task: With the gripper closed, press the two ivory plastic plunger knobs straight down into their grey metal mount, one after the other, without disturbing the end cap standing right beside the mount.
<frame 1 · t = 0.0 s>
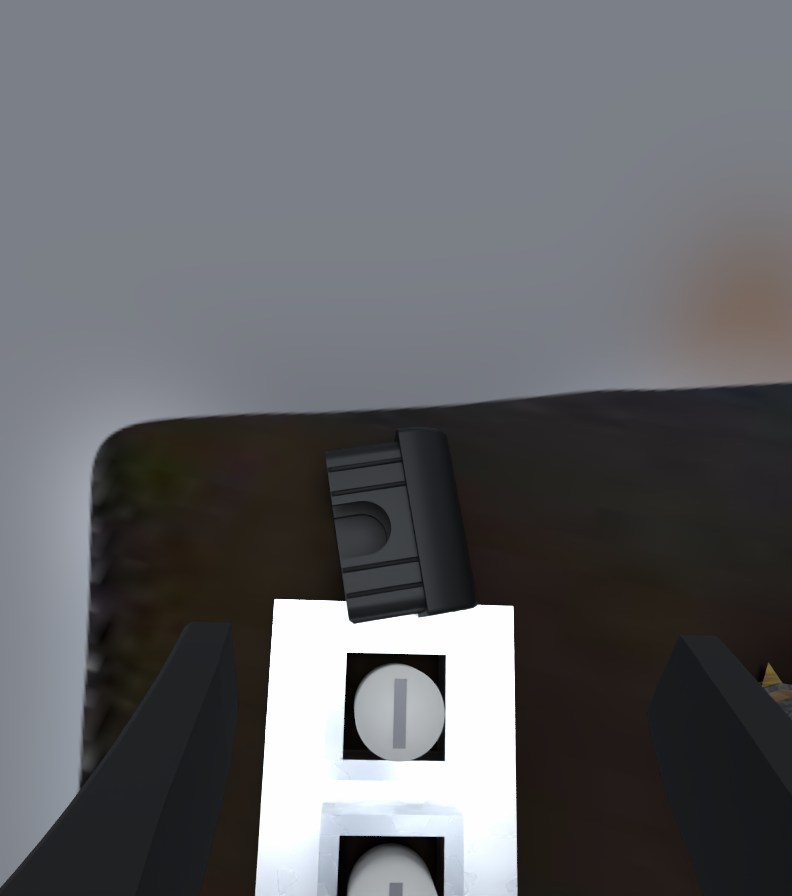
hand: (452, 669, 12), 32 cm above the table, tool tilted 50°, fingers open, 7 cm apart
knob 1: (397, 708, 38), point 5 cm above the table, slide at 0.0 cm
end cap: (395, 537, 45), on the table, touching mount
mount: (389, 784, 41), on the table
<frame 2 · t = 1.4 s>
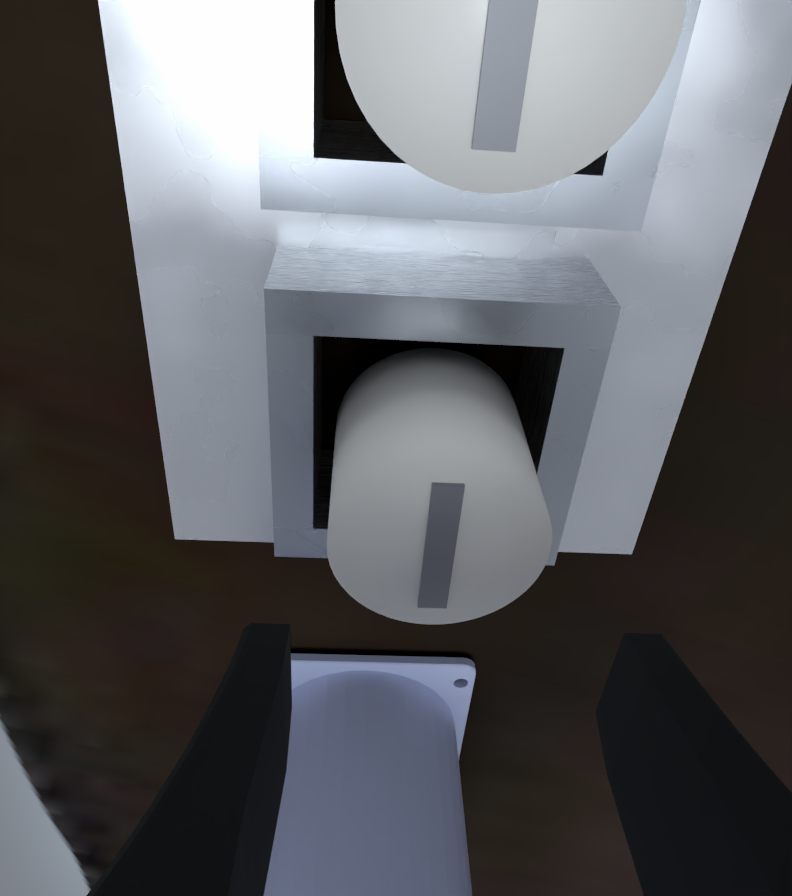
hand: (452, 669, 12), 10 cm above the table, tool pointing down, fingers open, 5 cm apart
knob 1: (489, 2, 11), point 5 cm above the table, slide at 0.0 cm
knob 2: (432, 483, 16), point 5 cm above the table, slide at 0.0 cm
mount: (437, 207, 17), on the table
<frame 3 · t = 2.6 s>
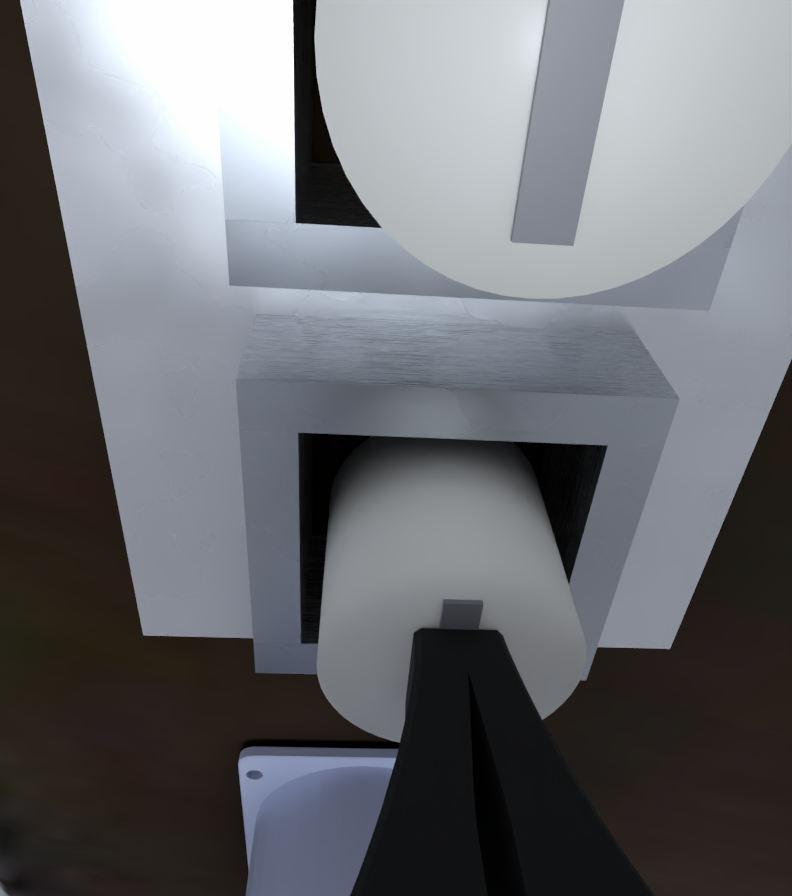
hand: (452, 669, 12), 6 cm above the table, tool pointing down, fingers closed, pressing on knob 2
knob 1: (531, 31, 8), point 5 cm above the table, slide at 0.0 cm
knob 2: (442, 578, 14), point 4 cm above the table, slide at 0.8 cm, touching gripper
mount: (449, 265, 15), on the table
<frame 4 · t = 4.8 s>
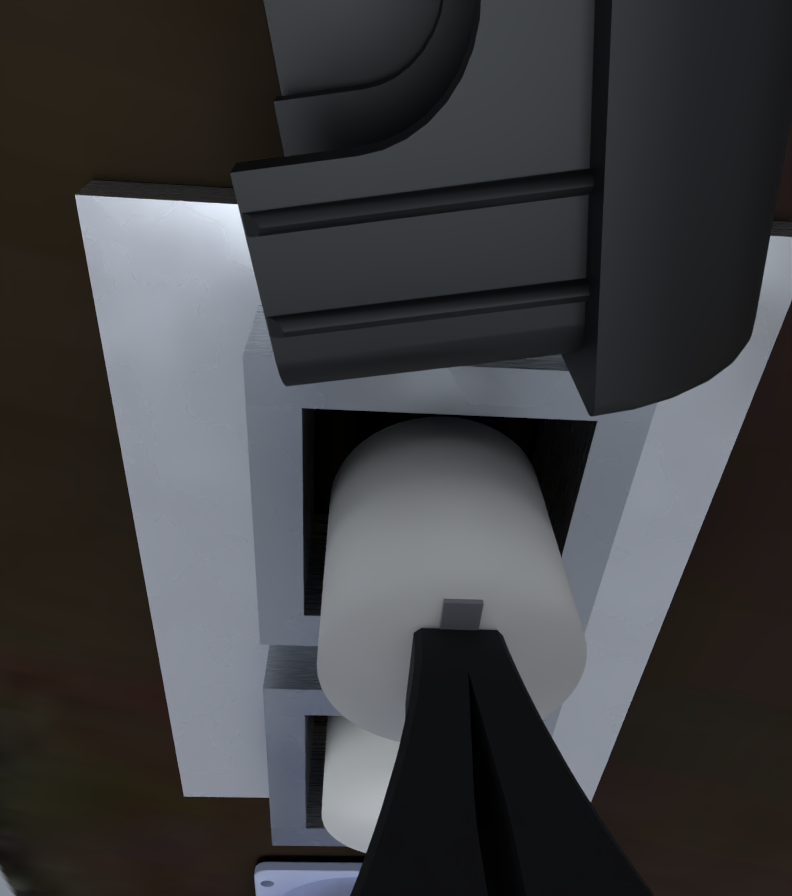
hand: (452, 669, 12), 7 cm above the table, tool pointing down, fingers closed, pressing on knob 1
knob 1: (442, 577, 14), point 5 cm above the table, slide at 0.0 cm, touching gripper
knob 2: (403, 744, 21), point 2 cm above the table, slide at 2.5 cm
mount: (412, 567, 20), on the table
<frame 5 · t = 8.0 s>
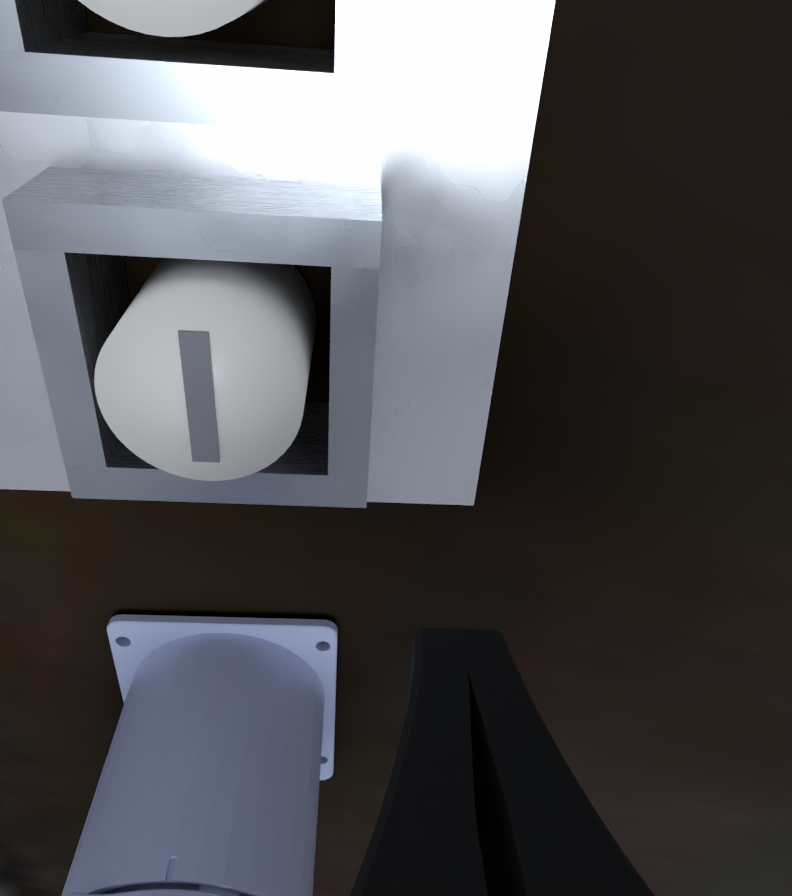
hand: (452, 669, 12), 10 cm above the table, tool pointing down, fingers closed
knob 2: (217, 354, 17), point 2 cm above the table, slide at 2.5 cm
mount: (222, 129, 17), on the table
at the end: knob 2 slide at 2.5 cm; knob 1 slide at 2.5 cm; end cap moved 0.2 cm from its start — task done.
